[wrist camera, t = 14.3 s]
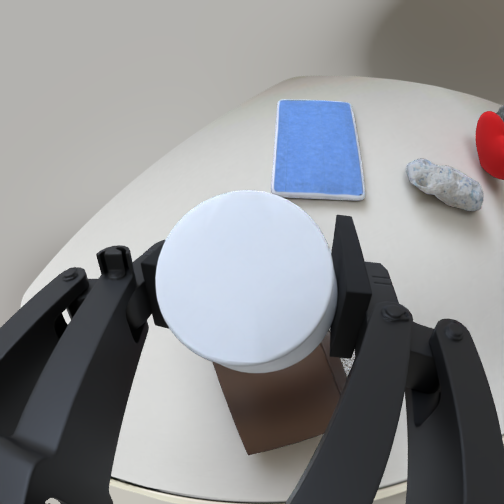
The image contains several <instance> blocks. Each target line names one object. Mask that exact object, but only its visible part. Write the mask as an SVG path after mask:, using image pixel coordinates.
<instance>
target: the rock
mask: <svg viewBox="0 0 504 504" xmlns="http://www.w3.org/2000/svg"><path fill="white" fill-rule="evenodd" d="M496 114H497V115H499V116H500V117H501V119H502V120H503V122H504V106H502V107H501V108H500V109H499V111H498V112H497V113H496Z"/></svg>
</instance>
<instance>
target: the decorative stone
mask: <svg viewBox="0 0 504 504" xmlns="http://www.w3.org/2000/svg"><path fill="white" fill-rule="evenodd" d="M406 172H407V175H408V177H409V181H410V183H411V184H413V185H415V186H417V187H418V188H419V189H420V190H421V191H423V192H425V193H426V194H434V195H435V196H436V197H437V198H438V199H439V200H441V201H443V202H444V203H445V204H447V205H449V206H452V207H458V208H460V209H464V210H466V211H476V210H479V209H481V206H482V202H483V191H482V188H481V186H480V184H479V183H478V182H477V181H475V180H473V179H472V178H470V177H468V176H467V175H465V174H464V173H462V172H460V171H459V170H456V169H454V168H453V167H450V166H437V165H435V164H433V163H431V162H430V161H428V160H426V159H422V158H421V159H417V160H414V161H413V162H410V163H408V165H407V168H406Z"/></svg>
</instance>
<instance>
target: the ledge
mask: <svg viewBox="0 0 504 504" xmlns="http://www.w3.org/2000/svg"><path fill="white" fill-rule="evenodd" d="M213 365H214V368H215V371H216V374H217V376H218V379H219V382H220V385H221V388H222V391H223V393H224V396H225V399H226V401H227V404H228V407H229V409H230V412H231V415H232V417H233V420H234V422H235V425H236V427H237V430H238V432H239V435H240V437H241V440H242V442H243V445H244V447H245V449H246V452H247V454H248V455H252V454H256V453H261V452H265V451H269V450H273V449H276V448H280V447H284V446H287V445H290V444H294V443H297V442H300V441H303V440H306V439H309V438H312V437H315V436H318V435H321V434H324V432H325V430H326V428H327V426H328V424H329V422H330V419H331V417H332V415H333V413H334V410H335V408H336V406H337V403H338V401H339V398H340V396H341V394H342V391H343V389H344V386H345V383H346V381H347V380H346V379H347V376H346V374H345V371H344V368H343V365H342V363H341V360H340V358H338V357H330V331H329V330H328V332H327V334H326V335H325V337H324V339H323V340H322V341H321V343H320V344H319V345H318V346H317V347H316V348H315V350H314V351H313V352H312V353H310V354H309V355H308V356H307V357H305V358H304V359H302V360H301V361H299V362H297V363H295V364H294V365H291V366H289V367H287V368H284V369H281V370H277V371H273V372H267V373H247V372H240V371H236V370H233V369H230V368H227V367H225V366H222V365H221V364H218V363H215V362H213Z"/></svg>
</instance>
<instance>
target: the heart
mask: <svg viewBox="0 0 504 504" xmlns="http://www.w3.org/2000/svg"><path fill="white" fill-rule="evenodd" d="M476 147H477V152H478V156H479V160H480V164H481V166H482V168H483V169H484V170H485V171H486V172H487V173H489V174H490V175H491V176H493V177H495V178H498V179H502V180H504V122H503V120H502V119H501V117H500V116H499V115H497V114H496V113H494V112H491V111H487V112H484V113H483V114H482V115H481V116H480V118H479V120H478V123H477V127H476Z"/></svg>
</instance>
